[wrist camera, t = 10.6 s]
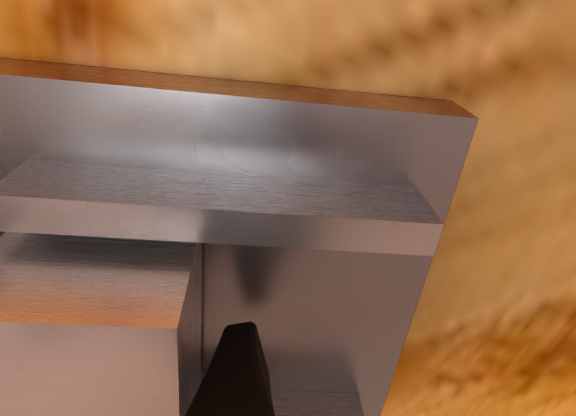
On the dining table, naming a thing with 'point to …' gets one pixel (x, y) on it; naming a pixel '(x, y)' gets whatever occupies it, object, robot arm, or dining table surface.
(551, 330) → the dining table surface
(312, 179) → the press frame
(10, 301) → the ram
